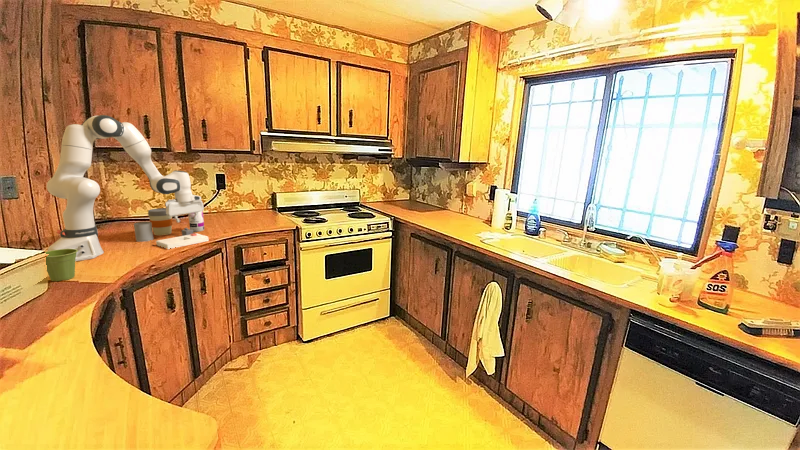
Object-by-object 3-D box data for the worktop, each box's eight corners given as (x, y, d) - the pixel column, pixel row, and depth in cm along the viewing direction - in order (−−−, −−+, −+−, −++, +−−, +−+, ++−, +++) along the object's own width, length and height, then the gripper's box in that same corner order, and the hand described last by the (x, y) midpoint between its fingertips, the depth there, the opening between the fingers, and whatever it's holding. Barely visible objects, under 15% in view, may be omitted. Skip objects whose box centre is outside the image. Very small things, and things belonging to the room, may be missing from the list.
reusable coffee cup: (173, 234, 219) (170, 211, 216) (149, 236, 214) (145, 212, 210) (175, 230, 230) (172, 207, 227) (152, 232, 224) (149, 208, 221)
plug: (186, 238, 212) (186, 229, 211) (182, 237, 215) (181, 228, 214) (193, 237, 215) (192, 228, 214) (189, 235, 218) (188, 227, 217)
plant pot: (75, 281, 144) (70, 255, 142) (37, 285, 140) (31, 258, 137) (87, 272, 155) (82, 247, 152) (51, 275, 150) (46, 249, 148)
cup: (144, 242, 202) (142, 225, 200) (132, 241, 204) (129, 224, 202) (157, 238, 210) (155, 222, 208) (145, 237, 212) (143, 221, 210)
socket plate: (167, 249, 190) (167, 243, 189) (156, 245, 197) (155, 239, 196) (208, 240, 208) (208, 235, 207) (197, 237, 215) (196, 232, 214)
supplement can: (203, 228, 237) (201, 206, 234) (205, 231, 230) (202, 208, 227) (189, 229, 232) (187, 207, 229) (190, 232, 226) (188, 209, 223)
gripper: (167, 200, 200) (170, 224, 203) (203, 196, 217) (206, 218, 220) (162, 199, 203) (165, 223, 206) (198, 195, 220) (200, 217, 223)
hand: (186, 220), depth 213 cm, fingers open, 8 cm apart
